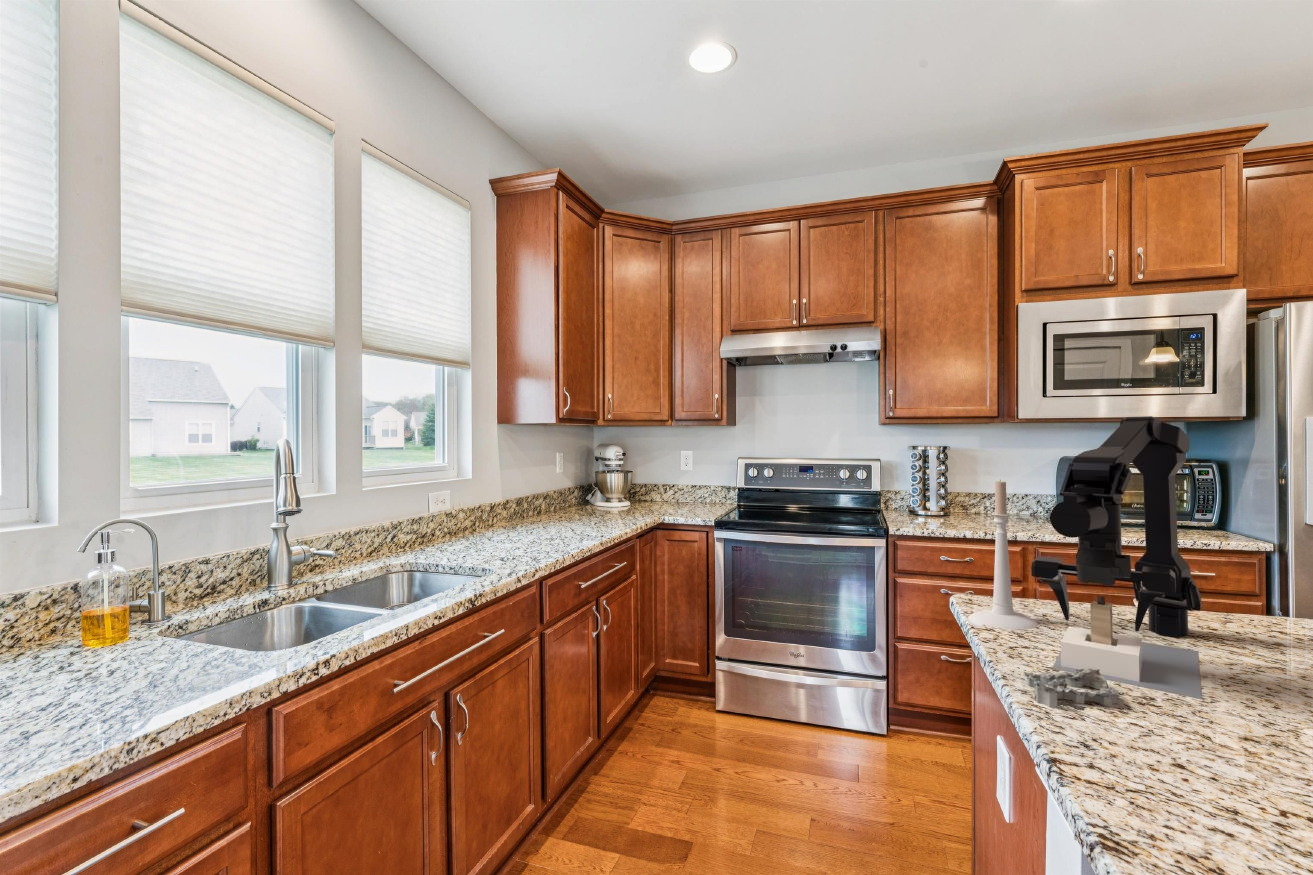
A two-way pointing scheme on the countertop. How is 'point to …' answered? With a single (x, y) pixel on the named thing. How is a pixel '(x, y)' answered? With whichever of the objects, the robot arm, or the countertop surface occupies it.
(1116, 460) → the robot arm
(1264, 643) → the countertop surface
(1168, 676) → the board
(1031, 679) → the egg carton
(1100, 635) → the peg
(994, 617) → the candlestick
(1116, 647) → the holder
